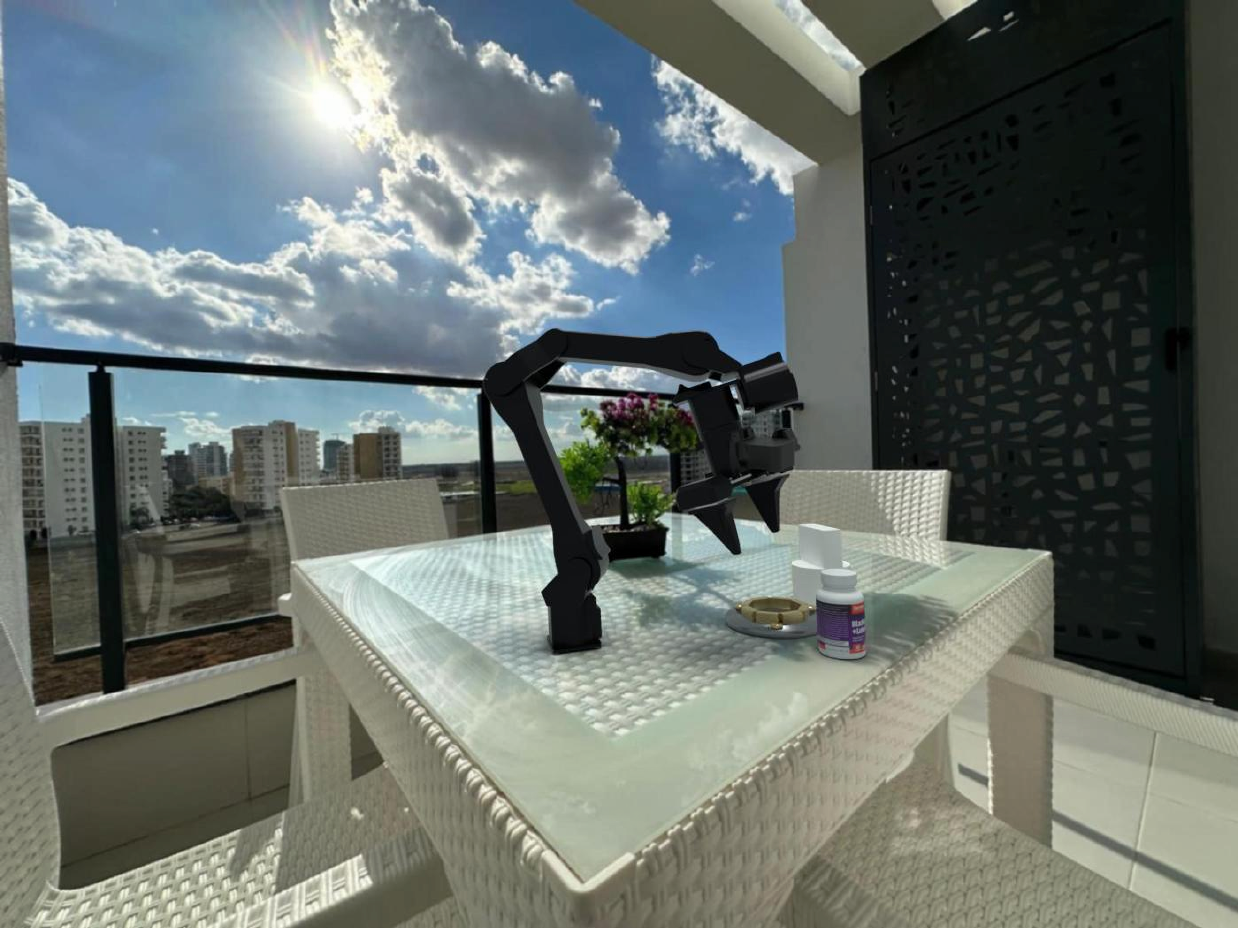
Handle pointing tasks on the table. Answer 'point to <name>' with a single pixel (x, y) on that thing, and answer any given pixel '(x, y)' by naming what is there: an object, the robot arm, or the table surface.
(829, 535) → the base with upright slab
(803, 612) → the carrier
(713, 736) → the table surface
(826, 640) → the pill bottle
